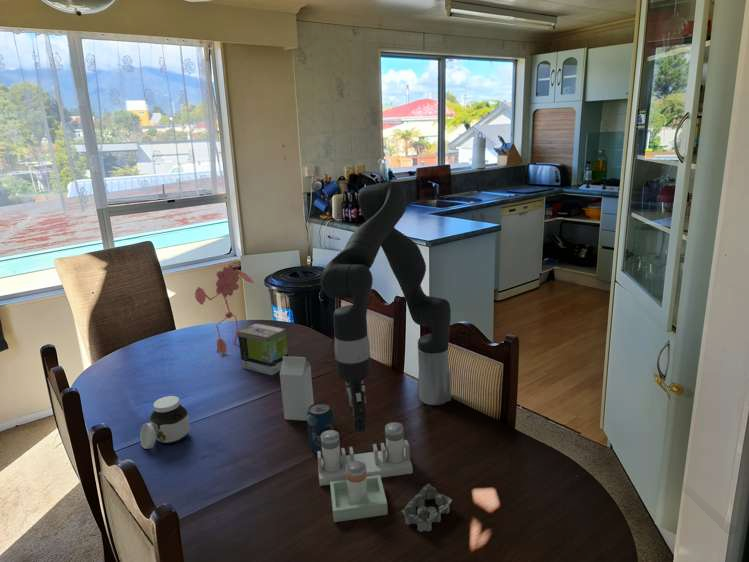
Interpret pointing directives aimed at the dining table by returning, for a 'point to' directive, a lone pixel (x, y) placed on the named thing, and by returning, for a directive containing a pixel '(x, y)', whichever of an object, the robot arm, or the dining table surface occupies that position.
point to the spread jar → (165, 423)
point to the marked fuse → (356, 483)
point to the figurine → (225, 287)
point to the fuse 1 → (331, 451)
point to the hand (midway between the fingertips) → (357, 420)
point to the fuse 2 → (394, 443)
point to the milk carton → (296, 387)
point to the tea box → (263, 348)
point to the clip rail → (367, 464)
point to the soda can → (318, 424)
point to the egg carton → (423, 511)
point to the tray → (371, 509)
